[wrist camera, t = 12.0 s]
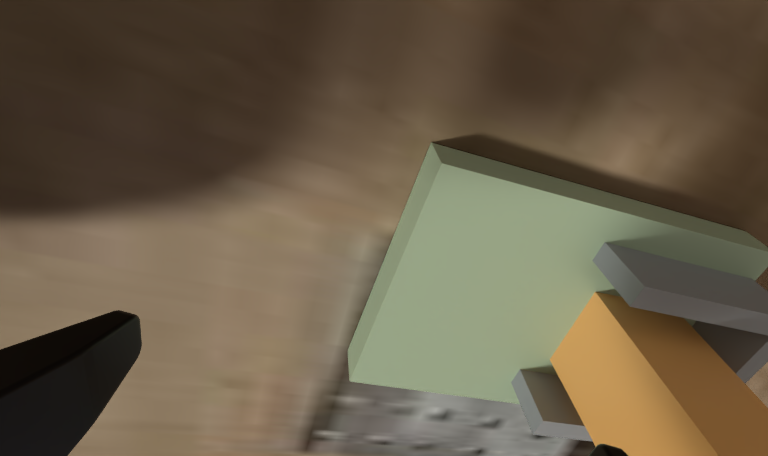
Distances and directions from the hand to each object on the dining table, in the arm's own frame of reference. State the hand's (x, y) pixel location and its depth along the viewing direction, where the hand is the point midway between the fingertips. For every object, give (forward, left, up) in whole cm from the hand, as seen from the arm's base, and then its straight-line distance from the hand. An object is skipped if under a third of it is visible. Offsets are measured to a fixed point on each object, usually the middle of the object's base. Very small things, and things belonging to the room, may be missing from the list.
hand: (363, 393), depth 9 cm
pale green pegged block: (+4, -12, -12) cm, 17 cm away
